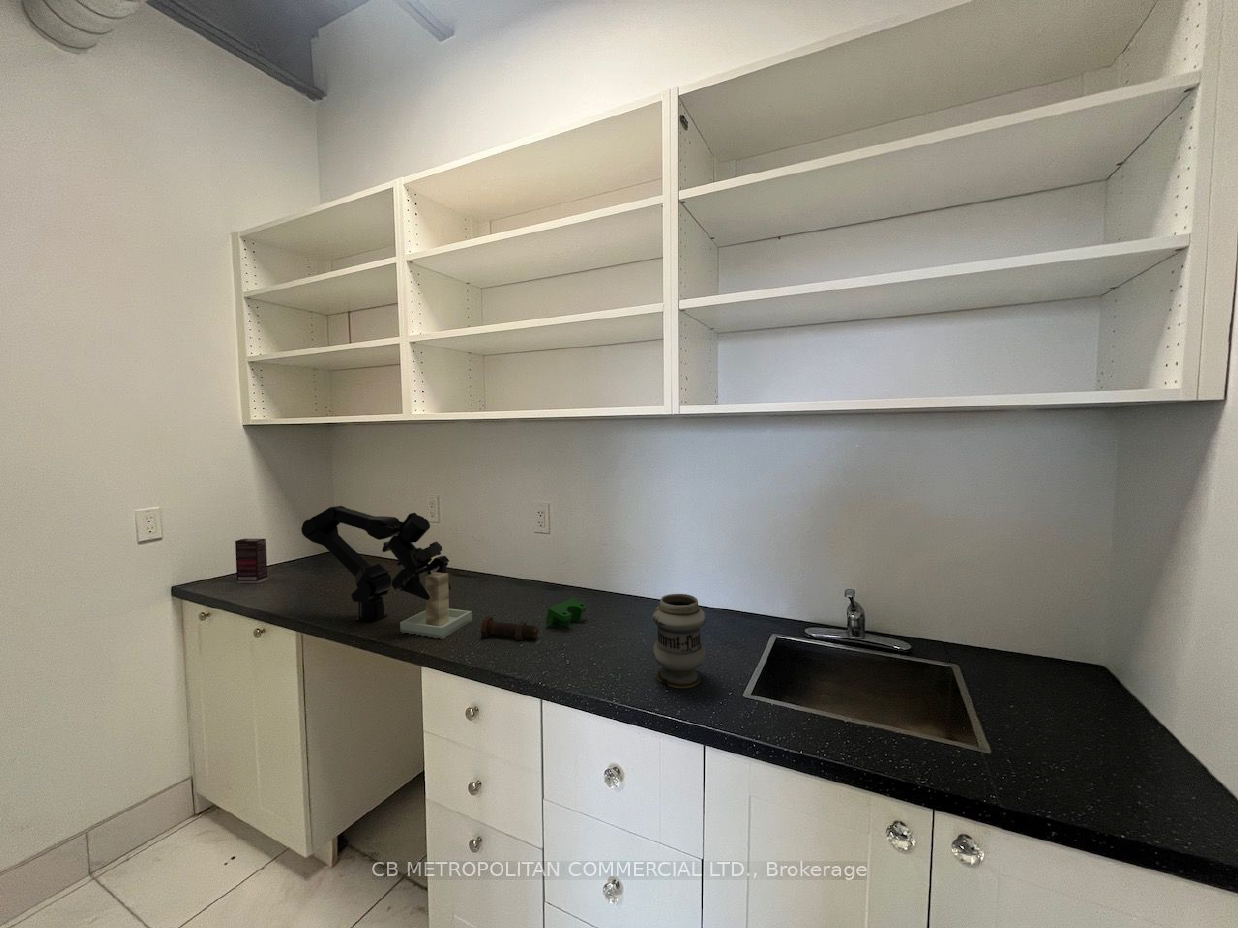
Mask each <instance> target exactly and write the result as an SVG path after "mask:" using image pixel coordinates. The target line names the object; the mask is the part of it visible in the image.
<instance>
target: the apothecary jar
mask: <svg viewBox="0 0 1238 928" xmlns="http://www.w3.org/2000/svg"><path fill="white" fill-rule="evenodd" d="M659 600H660V601H659V604H658V606H657V607H656V608H655V609H653V612H652V619H653V620H652V621H653V622H654V624H655V625H656V626H657V641H656V642H655V643H654V645H653V647H652V651H651V653H652V654H651V655H652V657H653V659H654V661H655V663H657V664H658V665H659V666H660V667H661V668H660V669H659V670H658V671H657V672H656V678H657V680H658V681H659V683H661V684H665V685H667V687H670V688H675V689H690V688H693V687H696V686H698V684H700V682H702V681H701V680H702V677H701V674H700V673H699V672H698V671H697V670H696V669H698V668H699V667H700V666H702V665H703V664H704V663H705V661H706V659H707V650H706V648H705V646H704V645H703V644H702V642H701V628H702V627H703V626H704V625H705V623H706V621H707V620H706V619H707V616H706V613H705V612H704V610H703V609H702V608H701V607H700V606H699V600H698V598H697V597H695V596H693V595H690V594H686V593H670V594H666V595H663V596H661V598H660V599H659Z"/></svg>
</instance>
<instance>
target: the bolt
mask: <svg viewBox="0 0 1238 928" xmlns="http://www.w3.org/2000/svg"><path fill="white" fill-rule="evenodd" d="M539 631H540V630H539V627H538V626H536V625H528V624H527V622H526V621H525V620H523V621H521V620H520V621H518V622H517V623H513V622H512V623H510V622H503V621H502V622H501V621H496V620H494V617H493V615H488V616H486V617H484V618H483V620H482V622H481V624H480V635H481V636H482V638H488V637H490V636H491V635H503V636H508V637H509V636H510V637H515V639H516V640H518V641H523V640H524V639H525V638H528V639H536V638H537V637H538V634H539Z"/></svg>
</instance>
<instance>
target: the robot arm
mask: <svg viewBox="0 0 1238 928" xmlns="http://www.w3.org/2000/svg"><path fill="white" fill-rule="evenodd" d="M340 524H343V525H347V526H350V527H354V528H357V529H360V530H364V531H365V532H366V534H367V535H368V536H370V537H372V538H374V539H376V540H380V541H381V540H385V539H389V538H390V539H389V540H388V541H385V542H384V541H383V544H382V545H383V546H382V550H381V552H382V553H385V552H386V553H387V552H389V551H390V552H391V553H392V554H393V556H394V557H395V558H396V559H397V560H398V562H397V563H396V565H397V566H398V567H403V569H400V571H399V572H398V573H397V574H396V575H395V576H394V577H393V578H392V577H391V575H390V574H389V572H390V571H388V570H387V569H385V568H384V567H383V565H382V564H381V563H376V564H374V565H371V564H369V563H368V562H367V561H366V560H365V559H364V558H363V557H362V556H361V555H360V554H359V553H358V552H357V551H356V550H355V549H354V548H353V547H352V546H351V545H350V544H349V543H348V542H347V541H346V540H345V539H344V538H343V537H342V536H340V535H339V528H338V526H339V525H340ZM430 528H431V523H430V522H429V520H428V519H427V518H425V517H424V516H422V515H418V514H417V513H416V512H410V513H409V514H408V515H407V517H406V519H405V520H404V521H400V520H399V518H397V517H394V516H386V515H385V516H380V515H379V516H376V515H371V514H369V513H368V514H367V513H365V512H361V511H358V510H355V509H351V508H347V507H345V506H343V505H336V506H335V505H334V506H330V507H328V508H326V509H325V510H323V511H322V512H321V513H318V514H317V515H314V516H313V517H311V518H309V519H305V520H304V522H303V523H302V526H301V528H300V530H301V534H302V536H303V537H304V538H305V539H307V540H308V541H310V542H312V543H314V544H318V545H320V546H323V547H324V548H325V549H326V550H327V551H328V552H329V553H331V555H332V556H334V558H336V560H337V561H339V562H340V564H342V566H343V567H345V569H347V570H348V571H349V573H351V574H352V575H353V577H354V581H355V586H356V589H355V590H354V591H353V592H352V593H351V598H352V601H353V603H358V605H357V607H358V616H357V617H356V618H354V619H353V621H355V622H356V621H357V622H363V623H369V624H370V623H371V624H372V623H374V621H375V622H376V621H379V620H382V619H383V618H385V617H387V616H388V613H385V602H384V596H386V595H388V593H389V591H390V590H389V589H390V587H392V588H393V589H394V590H395V591H397V590H399V591H400V592H406V593H409V594H412V595H414V596H416V597H419V598H421V599H423V600H429V599H430V596H429V594H428V593H427V591H426V590H425V586H424V585H423V584H422V582H421V581H420V576H423V575H425V574H427V575H430V574H432V573H435V572H437V573H447V567H448V565H449V562H450V560H449V558H448V557H447V556H446V555H442V551H443V546H442V545H441V544H440V542H438V541H434V542H432V543H429V546H426V547H424V548H422V547H416V546H415V544H414V543H418V542H419V541H420V539H421V538H423V536H424V535H425V534H426V533H427V532H428V531H429V530H430ZM436 556H437V557H436ZM434 557H435V558H434ZM432 558H434V559H432ZM451 589H452V587H451V585H450V581H449V580H448V592H449V591H450V590H451Z"/></svg>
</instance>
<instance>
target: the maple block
mask: <svg viewBox="0 0 1238 928" xmlns="http://www.w3.org/2000/svg"><path fill="white" fill-rule="evenodd" d="M448 581H449V573H447V572H446V573H437V572H435V573H432V574H430V575H428V574H427V575H425V576H424V583H425V584H424V585H425V586H424V588H425V590H426V591H427V593H428V594H429V596H430V599H429V600H425V599H424V600H425V610H426V625H433V626H442V625H444V624H446V623H447V622H449V607H450V605H449V603H450V602H449V601H450V599H449V596H450V595H449V591H448Z"/></svg>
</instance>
